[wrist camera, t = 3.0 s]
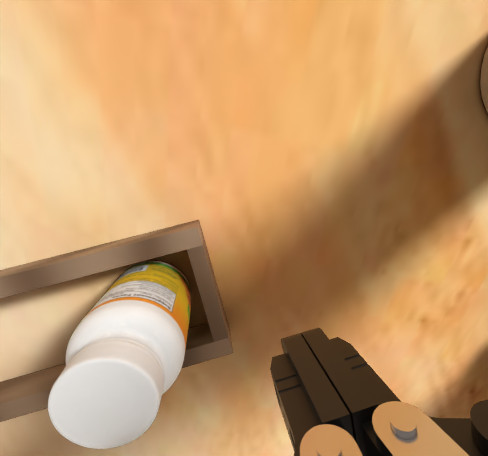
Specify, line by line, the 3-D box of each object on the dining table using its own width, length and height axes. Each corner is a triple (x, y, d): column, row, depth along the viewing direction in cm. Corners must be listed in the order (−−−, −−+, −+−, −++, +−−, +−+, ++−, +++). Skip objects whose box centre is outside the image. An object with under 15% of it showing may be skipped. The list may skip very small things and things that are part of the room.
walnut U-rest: (198, 219, 19) (197, 226, 16) (229, 331, 21) (232, 353, 18) (-90, 293, 17) (-141, 313, 15) (-28, 405, 19) (-63, 440, 17)
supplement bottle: (176, 337, 20) (148, 477, 11) (104, 315, 19) (6, 449, 10) (203, 274, 20) (199, 366, 10) (130, 247, 19) (51, 322, 9)
